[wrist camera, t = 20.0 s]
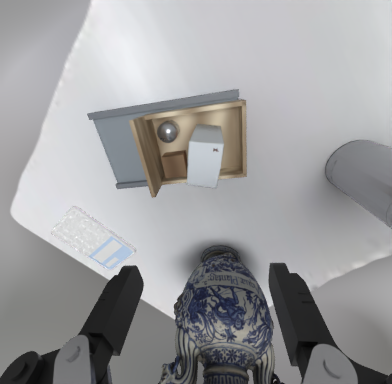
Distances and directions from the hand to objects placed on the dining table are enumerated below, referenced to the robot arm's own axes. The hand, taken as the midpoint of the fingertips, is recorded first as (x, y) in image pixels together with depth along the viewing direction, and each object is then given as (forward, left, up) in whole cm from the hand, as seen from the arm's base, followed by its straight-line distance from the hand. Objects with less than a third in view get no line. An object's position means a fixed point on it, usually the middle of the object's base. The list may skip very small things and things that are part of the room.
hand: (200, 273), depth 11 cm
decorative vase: (0, +31, -28) cm, 42 cm away
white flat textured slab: (+34, +22, -28) cm, 49 cm away
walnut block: (+6, +1, -26) cm, 27 cm away
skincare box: (0, -2, -26) cm, 26 cm away
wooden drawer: (+2, -2, -26) cm, 26 cm away
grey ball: (+6, -5, -26) cm, 27 cm away
